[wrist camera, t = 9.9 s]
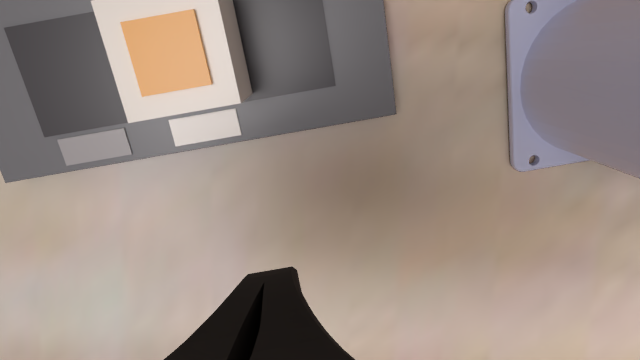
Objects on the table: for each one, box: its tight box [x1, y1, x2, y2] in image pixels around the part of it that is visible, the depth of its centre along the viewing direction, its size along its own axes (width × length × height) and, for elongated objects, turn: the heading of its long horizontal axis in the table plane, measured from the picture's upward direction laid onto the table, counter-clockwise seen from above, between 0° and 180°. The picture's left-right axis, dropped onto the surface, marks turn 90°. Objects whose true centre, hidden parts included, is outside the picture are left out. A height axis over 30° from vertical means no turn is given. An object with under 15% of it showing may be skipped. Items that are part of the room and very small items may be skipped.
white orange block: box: [91, 0, 253, 123], centre depth 15 cm, size 4×4×4 cm
